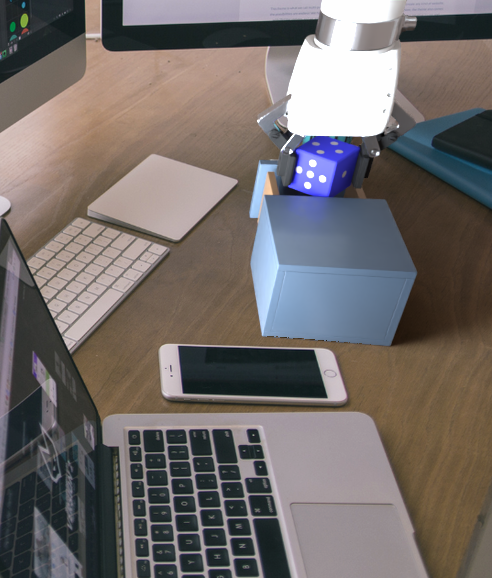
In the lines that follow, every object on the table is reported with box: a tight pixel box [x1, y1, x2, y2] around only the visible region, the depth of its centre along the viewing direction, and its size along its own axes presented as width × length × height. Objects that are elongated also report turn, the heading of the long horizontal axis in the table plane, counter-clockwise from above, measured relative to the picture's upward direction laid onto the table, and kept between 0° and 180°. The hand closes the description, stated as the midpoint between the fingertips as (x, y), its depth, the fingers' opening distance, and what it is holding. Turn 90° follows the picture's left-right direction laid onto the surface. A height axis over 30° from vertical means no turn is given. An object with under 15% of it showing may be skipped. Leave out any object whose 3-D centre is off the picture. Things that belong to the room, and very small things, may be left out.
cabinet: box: [249, 195, 418, 347], centre depth 84 cm, size 14×13×10 cm
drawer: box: [248, 158, 368, 224], centre depth 94 cm, size 17×11×8 cm, turn 168°
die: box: [288, 136, 360, 197], centre depth 89 cm, size 5×5×5 cm
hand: (319, 180), depth 90 cm, fingers closed on die, 6 cm apart
